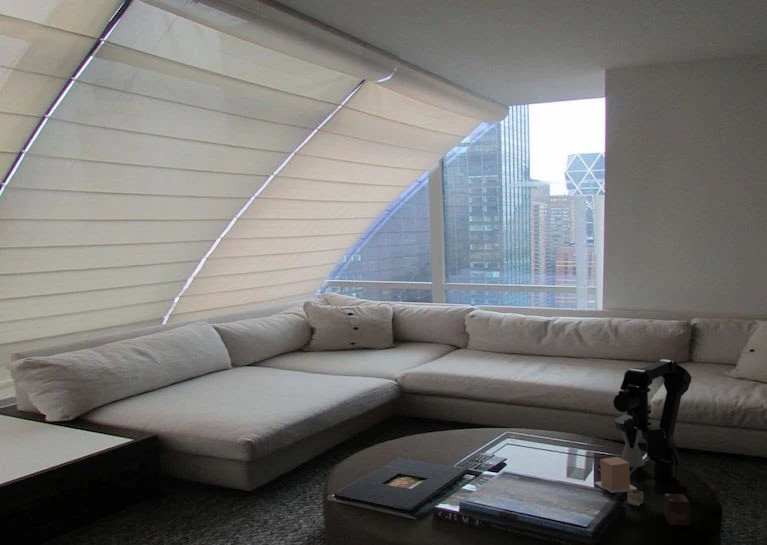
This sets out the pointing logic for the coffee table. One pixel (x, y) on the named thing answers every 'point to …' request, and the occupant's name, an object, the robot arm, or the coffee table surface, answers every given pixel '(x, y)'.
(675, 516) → the box
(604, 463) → the tan block
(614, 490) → the mat
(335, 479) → the coffee table surface
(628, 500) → the marked cube
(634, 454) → the lava lamp
